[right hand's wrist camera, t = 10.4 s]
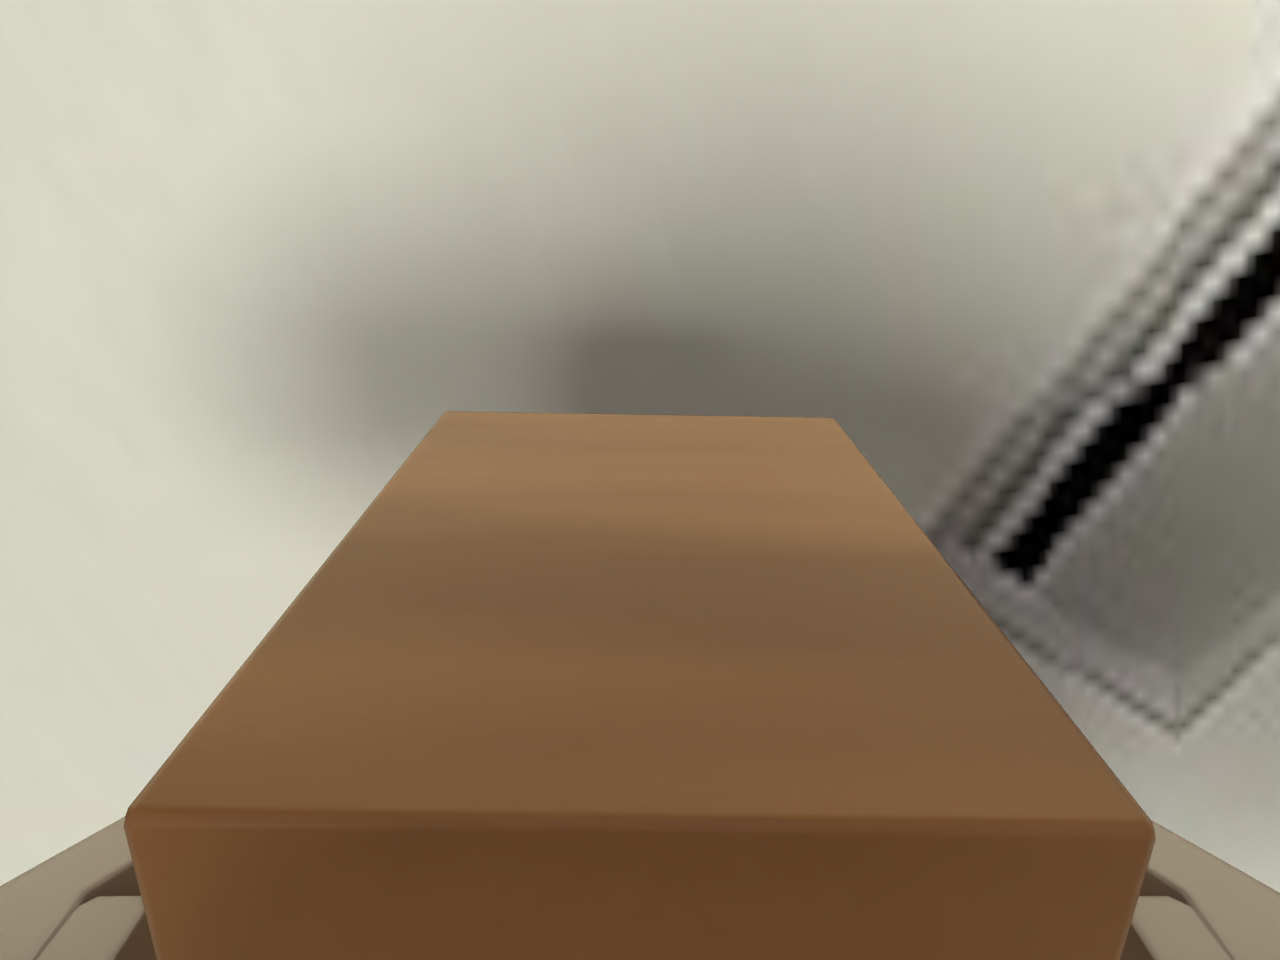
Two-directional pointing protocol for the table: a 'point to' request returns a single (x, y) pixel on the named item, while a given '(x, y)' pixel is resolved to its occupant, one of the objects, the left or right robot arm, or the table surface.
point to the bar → (636, 726)
